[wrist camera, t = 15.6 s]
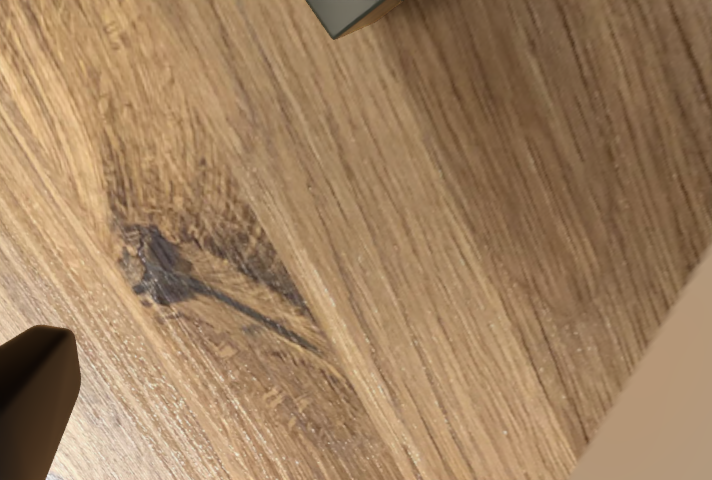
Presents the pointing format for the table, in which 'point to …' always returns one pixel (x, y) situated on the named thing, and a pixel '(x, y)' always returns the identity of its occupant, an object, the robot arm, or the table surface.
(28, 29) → the table surface
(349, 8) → the drawer
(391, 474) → the table surface
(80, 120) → the table surface
